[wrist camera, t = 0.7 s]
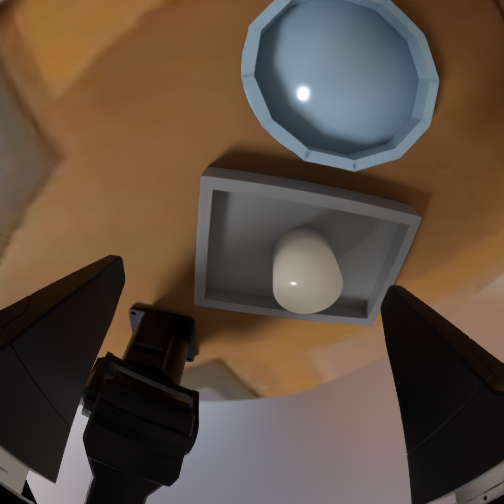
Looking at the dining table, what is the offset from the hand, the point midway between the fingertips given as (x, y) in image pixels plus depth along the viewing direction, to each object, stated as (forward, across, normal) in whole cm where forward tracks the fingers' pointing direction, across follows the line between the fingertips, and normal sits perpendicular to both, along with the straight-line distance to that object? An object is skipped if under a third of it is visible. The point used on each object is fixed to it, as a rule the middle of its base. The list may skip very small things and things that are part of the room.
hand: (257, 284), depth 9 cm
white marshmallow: (+11, -4, +5) cm, 13 cm away
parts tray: (+12, -4, +5) cm, 13 cm away
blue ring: (+12, -4, -8) cm, 15 cm away
